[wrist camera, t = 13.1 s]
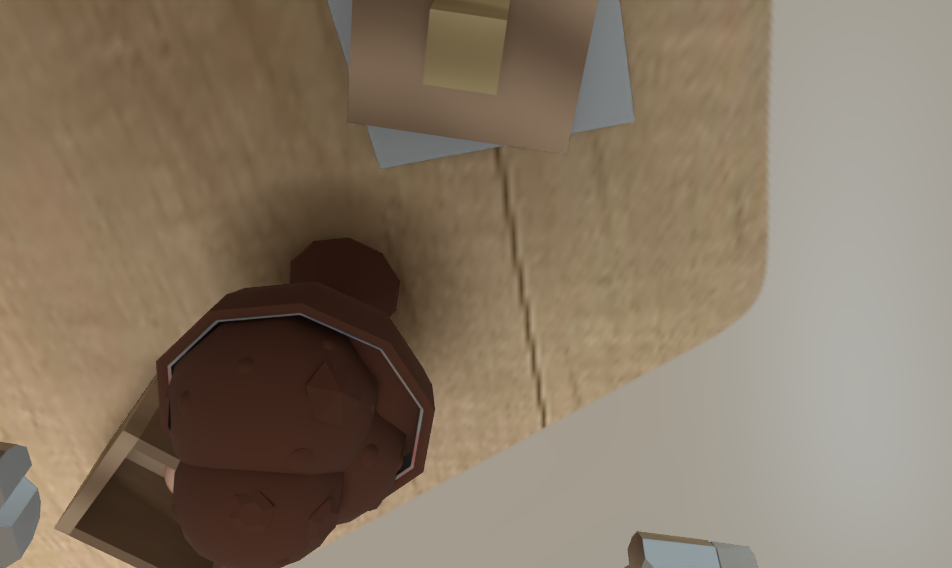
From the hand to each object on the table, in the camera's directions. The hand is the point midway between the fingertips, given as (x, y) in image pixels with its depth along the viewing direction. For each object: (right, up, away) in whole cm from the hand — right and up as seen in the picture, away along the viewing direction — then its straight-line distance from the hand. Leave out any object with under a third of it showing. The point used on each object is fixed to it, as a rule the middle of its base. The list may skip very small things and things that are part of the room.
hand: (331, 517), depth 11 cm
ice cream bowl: (-4, +3, +28) cm, 29 cm away
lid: (+2, +13, +20) cm, 24 cm away
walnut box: (-13, -6, +34) cm, 37 cm away
